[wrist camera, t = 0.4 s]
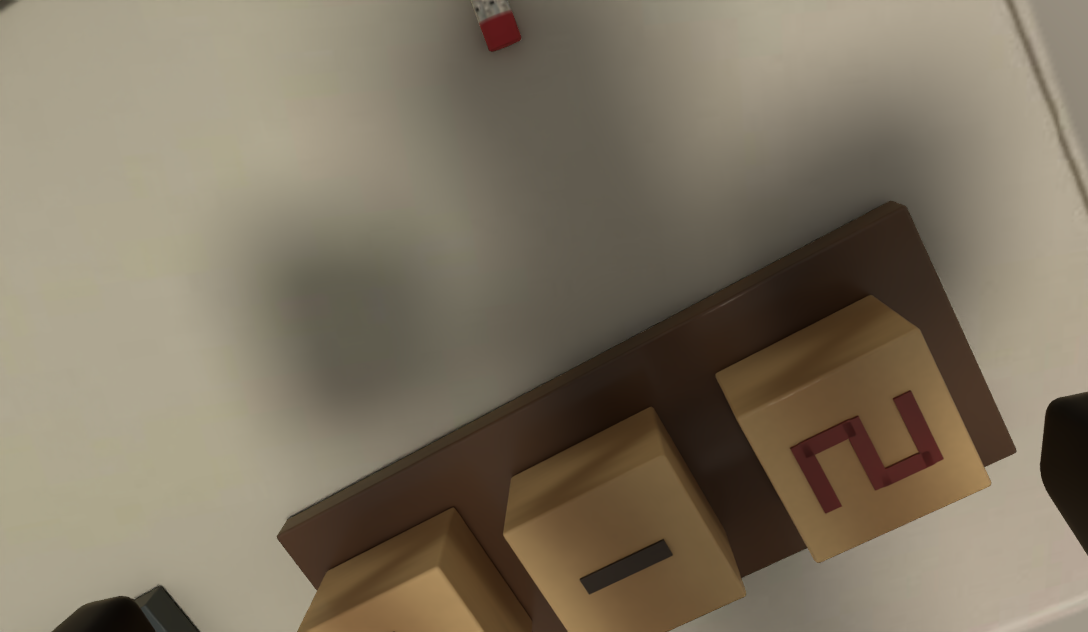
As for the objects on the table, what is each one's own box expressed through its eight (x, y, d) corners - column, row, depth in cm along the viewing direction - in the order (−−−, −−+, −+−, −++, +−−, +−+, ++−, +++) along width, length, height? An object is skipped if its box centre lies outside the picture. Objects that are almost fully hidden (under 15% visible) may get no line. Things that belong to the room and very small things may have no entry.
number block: (870, 292, 20) (922, 328, 18) (938, 431, 22) (995, 487, 19) (713, 373, 21) (736, 420, 18) (785, 503, 22) (818, 567, 19)
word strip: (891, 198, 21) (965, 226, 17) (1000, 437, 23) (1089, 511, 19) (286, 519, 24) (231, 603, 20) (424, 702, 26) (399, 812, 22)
